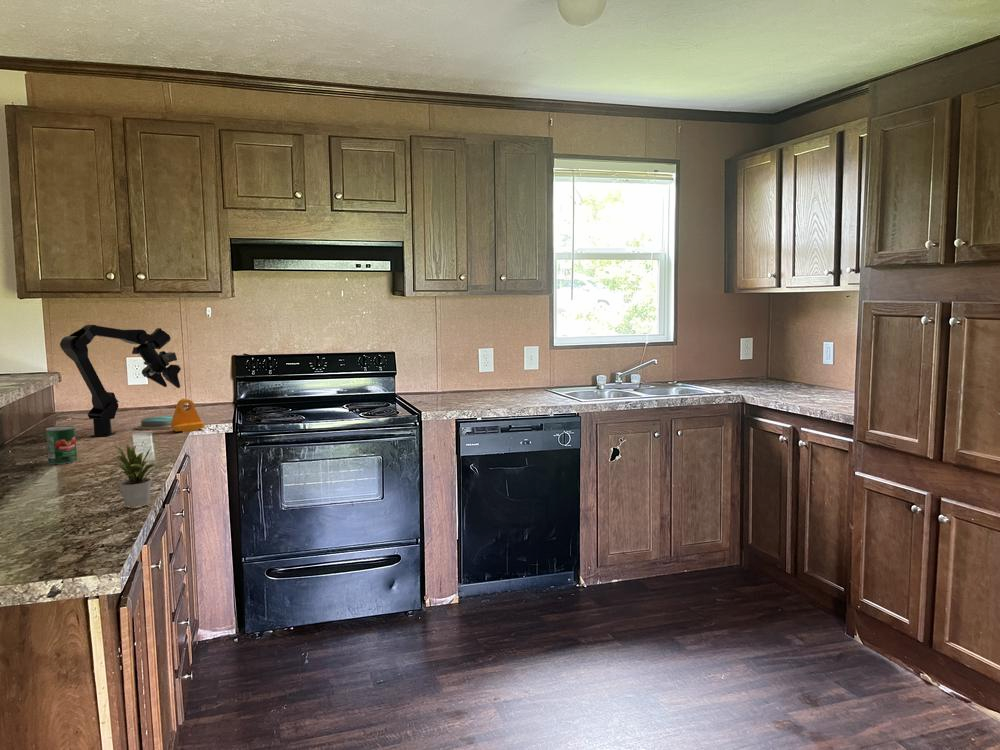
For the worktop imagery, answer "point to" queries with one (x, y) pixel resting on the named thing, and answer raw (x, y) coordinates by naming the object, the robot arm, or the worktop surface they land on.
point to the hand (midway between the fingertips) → (172, 386)
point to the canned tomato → (61, 444)
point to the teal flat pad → (156, 423)
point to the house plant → (134, 477)
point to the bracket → (186, 418)
